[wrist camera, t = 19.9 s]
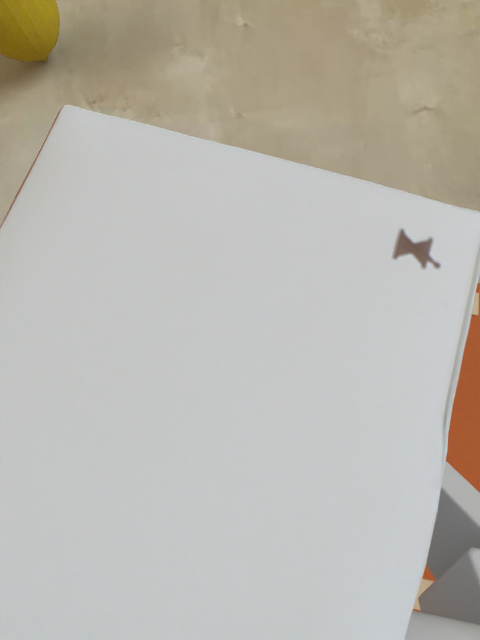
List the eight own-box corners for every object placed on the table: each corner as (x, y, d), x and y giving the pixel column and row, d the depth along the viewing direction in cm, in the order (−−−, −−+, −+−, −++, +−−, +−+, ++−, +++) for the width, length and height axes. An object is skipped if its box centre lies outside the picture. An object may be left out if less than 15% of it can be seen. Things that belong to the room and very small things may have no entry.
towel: (-21, 519, 16) (-34, 525, 16) (64, 232, 19) (57, 226, 19) (474, 628, 14) (485, 641, 14) (480, 287, 17) (489, 283, 17)
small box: (203, 306, 17) (58, 84, 5) (318, 344, 17) (516, 201, 4) (146, 456, 16) (-292, 730, 3) (268, 505, 15) (329, 1111, 2)
